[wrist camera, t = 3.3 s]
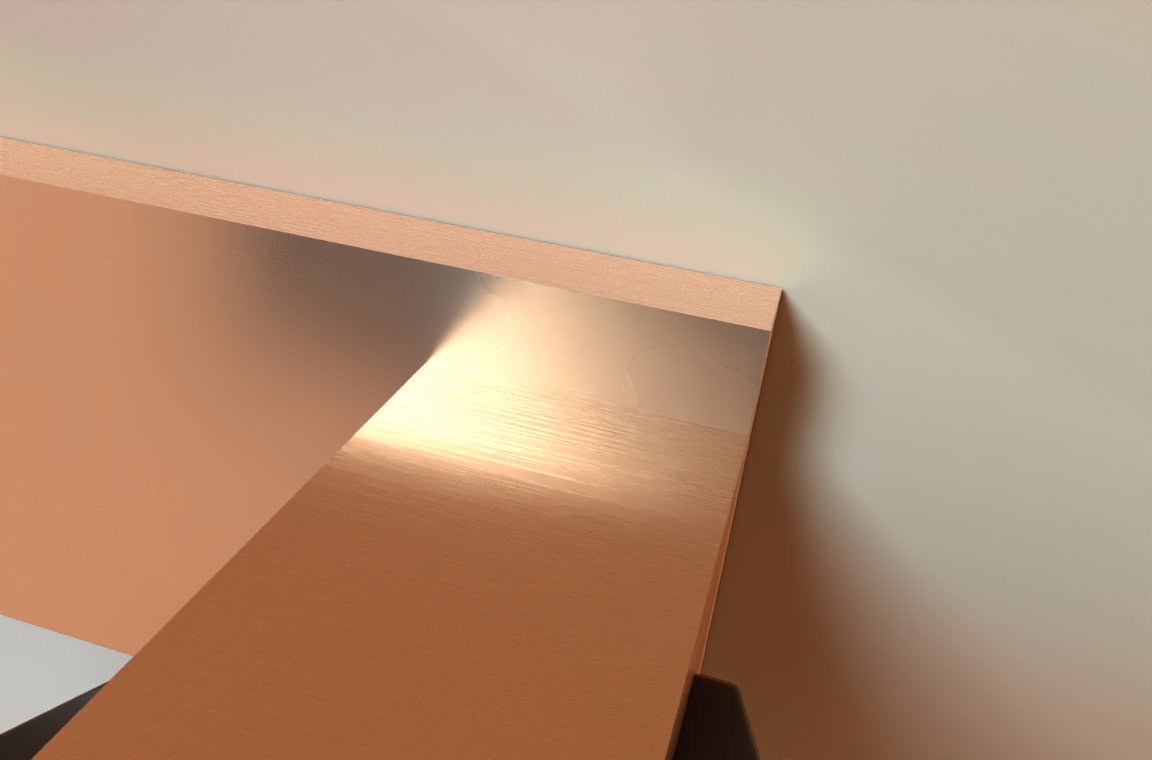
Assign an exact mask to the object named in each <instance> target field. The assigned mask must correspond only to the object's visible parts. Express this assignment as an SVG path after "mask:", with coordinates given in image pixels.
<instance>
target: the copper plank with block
mask: <svg viewBox="0 0 1152 760" xmlns="http://www.w3.org/2000/svg"><path fill="white" fill-rule="evenodd" d="M781 291H782V288H777V287H772V286H767V285H762V284H756V283H751V282H746V281H741V280H736V279H731V278H725V277H720V276H715V275H710V274H705V273H700V272H694V271H689V270H684V269H679V268H674V267H669V266H663V265H658V264H653V263H648V262H643V261H638V260H633V259H627V258H622V257H617V256H612V255H607V254H602V253H596V252H591V251H586V250H581V249H576V248H571V247H565V246H560V245H555V244H550V243H545V242H540V241H534V240H529V239H524V238H519V237H514V236H509V235H504V234H498V233H493V232H488V231H483V230H478V229H473V228H467V227H462V226H457V225H452V224H447V223H442V222H436V221H431V220H426V219H421V218H416V217H411V216H405V215H400V214H395V213H390V212H385V211H380V210H374V209H369V208H364V207H359V206H354V205H349V204H344V203H338V202H333V201H328V200H323V199H318V198H313V197H307V196H302V195H297V194H292V193H287V192H282V191H276V190H271V189H266V188H261V187H256V186H251V185H245V184H240V183H235V182H230V181H225V180H220V179H215V178H209V177H204V176H199V175H194V174H189V173H184V172H178V171H173V170H168V169H163V168H158V167H153V166H147V165H142V164H137V163H132V162H127V161H122V160H116V159H111V158H106V157H101V156H96V155H91V154H85V153H80V152H75V151H70V150H65V149H60V148H55V147H49V146H44V145H39V144H34V143H29V142H24V141H18V140H13V139H8V138H3V137H0V614H1V615H4V616H7V617H11V618H14V619H17V620H20V621H23V622H27V623H30V624H33V625H36V626H39V627H43V628H46V629H49V630H52V631H55V632H59V633H62V634H65V635H68V636H71V637H75V638H78V639H81V640H84V641H87V642H91V643H94V644H97V645H100V646H103V647H107V648H110V649H113V650H116V651H119V652H123V653H126V654H129V655H132V656H134V657H133V658H132V659H131V660H130V661H129V662H128V663H127V664H126V665H125V666H124V667H123V668H122V669H121V670H120V671H119V672H118V673H117V674H116V675H115V676H114V677H113V678H112V679H111V680H110V681H109V682H108V683H107V684H106V685H105V686H104V687H103V688H102V689H101V690H100V691H99V692H98V693H97V694H96V695H95V696H94V697H93V698H92V699H91V700H90V701H89V702H88V703H87V704H86V705H85V706H84V707H83V708H82V709H81V710H80V711H79V712H78V713H77V714H76V715H75V716H74V717H73V718H72V719H71V720H70V721H69V722H68V723H67V724H66V725H65V726H64V727H63V728H62V729H61V730H60V731H59V732H58V733H57V734H56V735H55V736H54V737H53V738H52V739H51V740H50V741H49V742H48V743H47V744H46V745H45V746H44V747H43V748H42V749H41V750H40V751H39V752H38V753H37V754H36V755H35V756H34V757H33V758H32V759H31V760H673V758H674V754H675V750H676V746H677V742H678V738H679V734H680V730H681V727H682V723H683V719H684V715H685V711H686V707H687V703H688V699H689V695H690V692H691V688H692V684H693V680H694V676H695V674H700V672H701V667H702V663H703V658H704V653H705V648H706V644H707V639H708V634H709V630H710V625H711V620H712V616H713V611H714V606H715V601H716V597H717V592H718V587H719V583H720V578H721V573H722V569H723V564H724V559H725V554H726V550H727V545H728V540H729V536H730V531H731V526H732V522H733V517H734V512H735V507H736V503H737V498H738V493H739V489H740V484H741V479H742V475H743V470H744V465H745V460H746V456H747V451H748V446H749V442H750V437H751V432H752V428H753V423H754V418H755V413H756V409H757V404H758V399H759V395H760V390H761V385H762V381H763V376H764V371H765V366H766V362H767V357H768V352H769V348H770V343H771V338H772V334H773V329H774V324H775V319H776V315H777V310H778V305H779V301H780V296H781Z"/></svg>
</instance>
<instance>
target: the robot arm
mask: <svg viewBox="0 0 1152 760" xmlns="http://www.w3.org/2000/svg"><path fill="white" fill-rule="evenodd" d="M108 682H109V681H108ZM108 682H106V683H104V684H102V685H100V686H98V687H96V688H94V689H92V690H90V691H88V692H86V693H84V694H82V695H79V696H77V697H75V698H73V699H71V700H69V701H67V702H65V703H63V704H61V705H59V706H57V707H55V708H53V709H51V710H49V711H47V712H45V713H43V714H41V715H39V716H37V717H35V718H33V719H31V720H29V721H27V722H24V723H22V724H20V725H18V726H16V727H14V728H12V729H10V730H8V731H6V732H4V733H2V734H0V760H31V759H32V758H33V757H34V756H35V755H36V754H37V753H38V752H39V751H40V750H41V749H42V748H43V747H44V746H45V745H46V744H47V743H48V742H49V741H50V740H51V739H52V738H53V737H54V736H55V735H56V734H57V733H58V732H59V731H60V730H61V729H62V728H63V727H64V726H65V725H66V724H67V723H68V722H69V721H70V720H71V719H72V718H73V717H74V716H75V715H76V714H77V713H78V712H79V711H80V710H81V709H82V708H83V707H84V706H85V705H86V704H87V703H88V702H89V701H90V700H91V699H92V698H93V697H94V696H95V695H96V694H97V693H98V692H99V691H100V690H101V689H102V688H103V687H104V686H105V685H106V684H107V683H108ZM673 760H761V758H760V755H759V751H758V748H757V745H756V741H755V738H754V735H753V731H752V728H751V725H750V721H749V718H748V715H747V711H746V708H745V705H744V701H743V698H742V695H741V692H740V690H739V688H738V687H737V686H736V685H735V684H733V683H731V682H727V681H724V680H720V679H717V678H713V677H709V676H706V675H702V674H695V676H694V680H693V684H692V688H691V692H690V695H689V699H688V703H687V707H686V711H685V715H684V719H683V723H682V727H681V730H680V734H679V738H678V742H677V746H676V750H675V754H674V758H673Z"/></svg>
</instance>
